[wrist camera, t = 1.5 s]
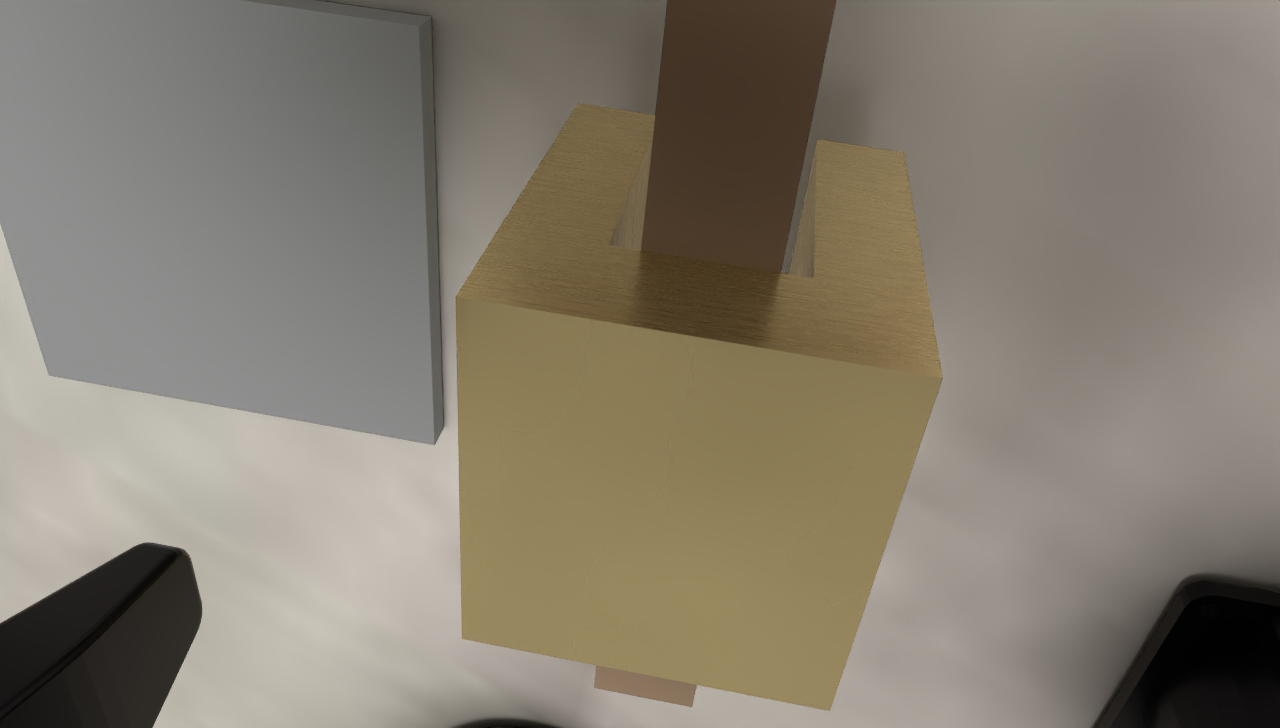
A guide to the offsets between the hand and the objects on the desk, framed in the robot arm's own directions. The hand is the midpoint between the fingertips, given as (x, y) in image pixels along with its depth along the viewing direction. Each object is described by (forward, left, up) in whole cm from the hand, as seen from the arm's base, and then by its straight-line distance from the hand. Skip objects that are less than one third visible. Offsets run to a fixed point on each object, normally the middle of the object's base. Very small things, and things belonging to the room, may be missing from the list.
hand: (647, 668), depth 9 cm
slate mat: (-2, +10, -10) cm, 15 cm away
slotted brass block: (0, 0, -7) cm, 7 cm away
